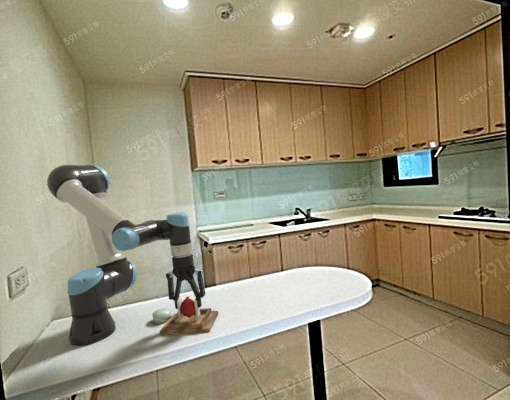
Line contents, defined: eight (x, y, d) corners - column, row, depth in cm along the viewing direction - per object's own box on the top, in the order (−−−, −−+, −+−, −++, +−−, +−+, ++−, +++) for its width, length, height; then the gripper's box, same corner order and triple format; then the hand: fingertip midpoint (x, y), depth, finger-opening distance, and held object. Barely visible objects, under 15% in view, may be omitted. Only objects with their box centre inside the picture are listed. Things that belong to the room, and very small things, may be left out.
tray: (159, 334, 107) (159, 327, 107) (174, 316, 121) (173, 309, 121) (209, 331, 105) (208, 324, 105) (218, 313, 119) (217, 307, 119)
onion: (182, 322, 109) (180, 300, 108) (180, 316, 114) (177, 295, 114) (199, 318, 111) (196, 296, 111) (195, 312, 116) (193, 292, 116)
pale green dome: (150, 324, 116) (149, 316, 116) (157, 316, 123) (156, 308, 123) (167, 323, 115) (166, 315, 115) (174, 314, 122) (173, 307, 122)
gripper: (153, 259, 109) (161, 322, 110) (204, 255, 107) (212, 319, 108) (161, 254, 116) (169, 313, 117) (209, 250, 114) (216, 310, 115)
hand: (189, 316), depth 113 cm, fingers closed on onion, 6 cm apart
